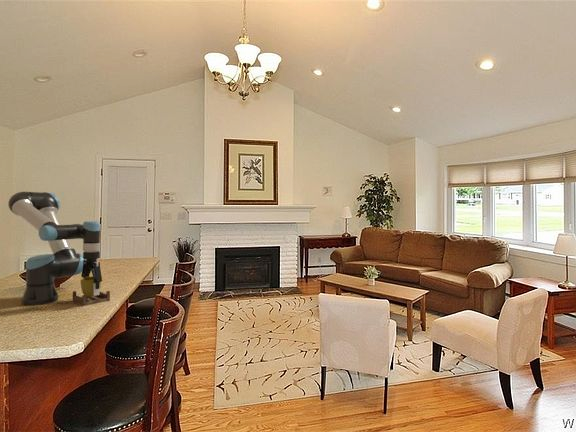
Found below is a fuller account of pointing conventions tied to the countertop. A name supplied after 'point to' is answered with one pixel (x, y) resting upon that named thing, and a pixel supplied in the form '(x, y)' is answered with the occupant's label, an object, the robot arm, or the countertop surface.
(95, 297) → the rack
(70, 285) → the countertop surface
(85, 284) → the flower pot
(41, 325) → the countertop surface
